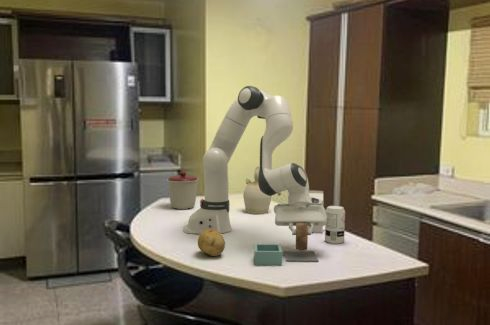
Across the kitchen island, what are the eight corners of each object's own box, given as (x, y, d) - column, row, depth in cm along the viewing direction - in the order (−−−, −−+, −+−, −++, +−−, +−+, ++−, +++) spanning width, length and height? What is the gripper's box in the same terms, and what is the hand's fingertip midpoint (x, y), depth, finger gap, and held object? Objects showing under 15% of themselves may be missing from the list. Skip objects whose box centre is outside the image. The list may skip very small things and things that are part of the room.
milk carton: (321, 233, 223) (323, 192, 221) (306, 232, 224) (307, 191, 222) (322, 229, 230) (323, 189, 228) (307, 228, 231) (308, 189, 229)
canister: (197, 211, 267) (197, 173, 264) (164, 210, 267) (163, 173, 265) (200, 204, 285) (200, 169, 282) (169, 204, 285) (169, 168, 283)
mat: (286, 261, 181) (286, 260, 181) (284, 252, 193) (284, 250, 193) (318, 261, 181) (318, 260, 181) (314, 252, 193) (314, 251, 193)
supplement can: (322, 239, 213) (323, 205, 211) (341, 238, 214) (342, 205, 212) (327, 244, 205) (328, 209, 203) (346, 244, 206) (347, 209, 204)
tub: (254, 264, 177) (254, 251, 177) (254, 256, 187) (254, 243, 187) (281, 265, 177) (282, 251, 177) (280, 256, 187) (280, 244, 187)
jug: (276, 211, 269) (276, 166, 266) (262, 216, 256) (262, 169, 253) (252, 207, 277) (253, 164, 275) (237, 212, 264) (238, 167, 262)
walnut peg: (296, 250, 185) (296, 224, 184) (295, 247, 189) (295, 222, 188) (308, 250, 185) (308, 224, 184) (306, 247, 189) (307, 222, 188)
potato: (216, 248, 197) (216, 224, 196) (228, 257, 186) (229, 232, 185) (192, 251, 193) (192, 227, 192) (204, 261, 182) (203, 235, 180)
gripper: (273, 199, 192) (275, 230, 183) (325, 199, 192) (329, 230, 183) (273, 208, 197) (274, 238, 188) (323, 208, 197) (327, 238, 188)
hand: (301, 234), depth 186 cm, fingers closed on walnut peg, 4 cm apart
